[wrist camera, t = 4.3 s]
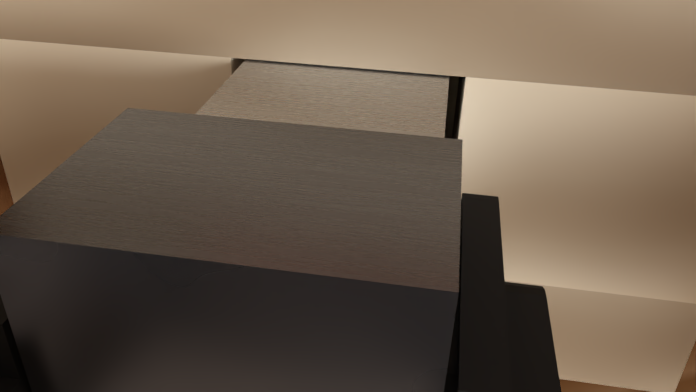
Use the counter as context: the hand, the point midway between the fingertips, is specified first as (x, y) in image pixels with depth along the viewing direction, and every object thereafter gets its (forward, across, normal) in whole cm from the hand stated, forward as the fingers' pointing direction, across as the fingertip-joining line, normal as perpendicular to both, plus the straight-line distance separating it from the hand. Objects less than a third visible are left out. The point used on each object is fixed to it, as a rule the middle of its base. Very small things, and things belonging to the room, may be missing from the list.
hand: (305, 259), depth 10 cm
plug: (+7, 0, 0) cm, 7 cm away
